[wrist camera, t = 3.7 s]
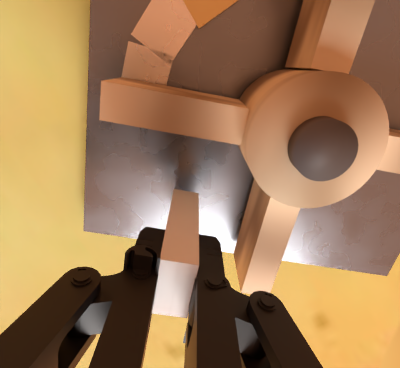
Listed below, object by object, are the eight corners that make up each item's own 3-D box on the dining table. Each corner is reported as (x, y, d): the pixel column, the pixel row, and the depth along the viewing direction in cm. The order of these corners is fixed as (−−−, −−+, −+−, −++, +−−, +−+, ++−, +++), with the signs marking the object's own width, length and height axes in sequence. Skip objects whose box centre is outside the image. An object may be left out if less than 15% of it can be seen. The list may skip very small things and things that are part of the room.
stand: (91, 219, 21) (81, 233, 19) (105, -127, 13) (92, -154, 12) (375, 262, 22) (389, 278, 21) (523, -24, 15) (563, -35, 13)
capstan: (112, 231, 19) (68, 318, 12) (141, -145, 12) (74, -396, 5) (366, 269, 20) (445, 364, 14) (527, -48, 13) (839, -153, 7)
